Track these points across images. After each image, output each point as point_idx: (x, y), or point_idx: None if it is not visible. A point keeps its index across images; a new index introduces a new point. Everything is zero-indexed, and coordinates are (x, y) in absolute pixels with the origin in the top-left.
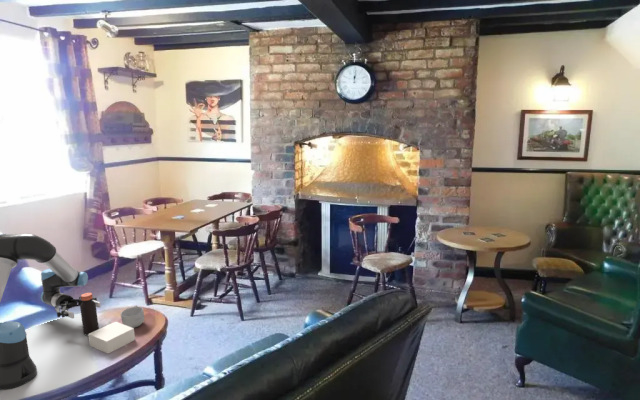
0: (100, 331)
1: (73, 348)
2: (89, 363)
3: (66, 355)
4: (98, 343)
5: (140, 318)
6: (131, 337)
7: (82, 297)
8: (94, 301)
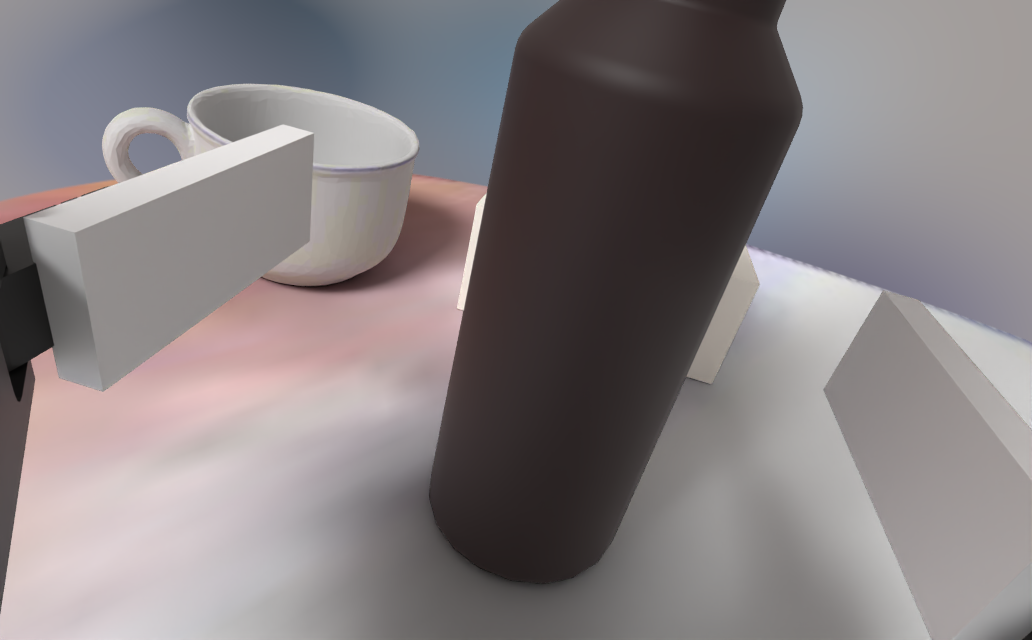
0: None
1: (832, 473)
2: (815, 309)
3: None
4: None
5: (341, 150)
6: None
7: None
8: (216, 173)
